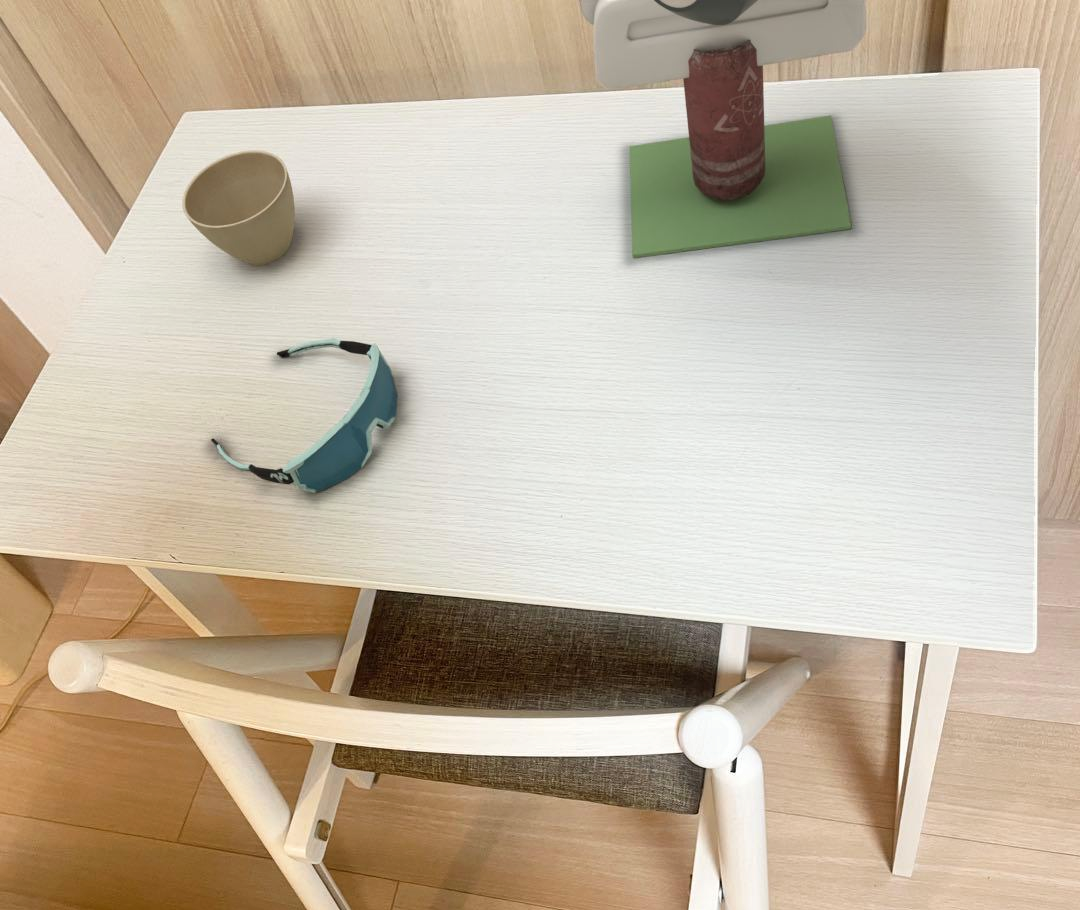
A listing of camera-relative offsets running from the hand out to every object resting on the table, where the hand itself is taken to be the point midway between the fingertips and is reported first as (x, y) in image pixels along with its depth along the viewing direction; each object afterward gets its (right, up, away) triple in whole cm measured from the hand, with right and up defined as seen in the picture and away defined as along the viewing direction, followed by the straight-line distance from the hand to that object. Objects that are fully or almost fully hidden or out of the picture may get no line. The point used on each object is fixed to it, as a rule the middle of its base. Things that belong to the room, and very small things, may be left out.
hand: (730, 111), depth 83 cm
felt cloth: (+2, -4, +7) cm, 8 cm away
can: (+1, -4, +6) cm, 7 cm away
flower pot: (-41, -7, +15) cm, 45 cm away
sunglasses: (-34, -25, +3) cm, 42 cm away
